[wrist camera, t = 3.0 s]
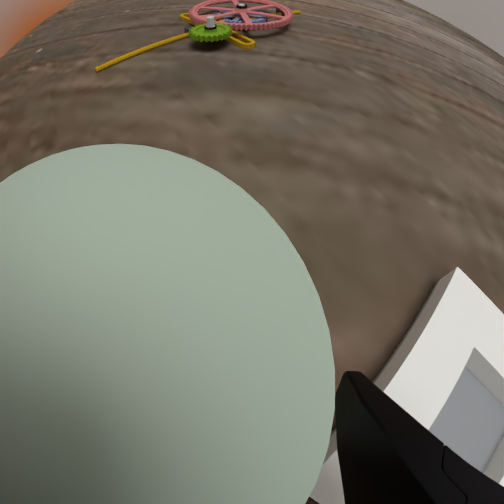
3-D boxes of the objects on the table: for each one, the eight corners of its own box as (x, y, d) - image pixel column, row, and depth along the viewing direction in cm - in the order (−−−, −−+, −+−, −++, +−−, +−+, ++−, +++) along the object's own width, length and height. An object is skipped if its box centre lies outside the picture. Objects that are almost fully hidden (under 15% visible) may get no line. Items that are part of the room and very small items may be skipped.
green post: (198, 465, 12) (85, 637, 1) (127, 391, 14) (-109, 311, 2) (272, 396, 14) (437, 355, 2) (198, 326, 15) (118, 96, 4)
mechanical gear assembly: (337, 32, 34) (264, 4, 39) (342, 7, 30) (265, -17, 36) (122, 101, 24) (81, 61, 29) (112, 62, 20) (74, 34, 26)
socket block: (442, 566, 8) (462, 576, 6) (288, 476, 12) (298, 488, 10) (542, 397, 13) (564, 392, 11) (436, 282, 17) (457, 266, 15)
